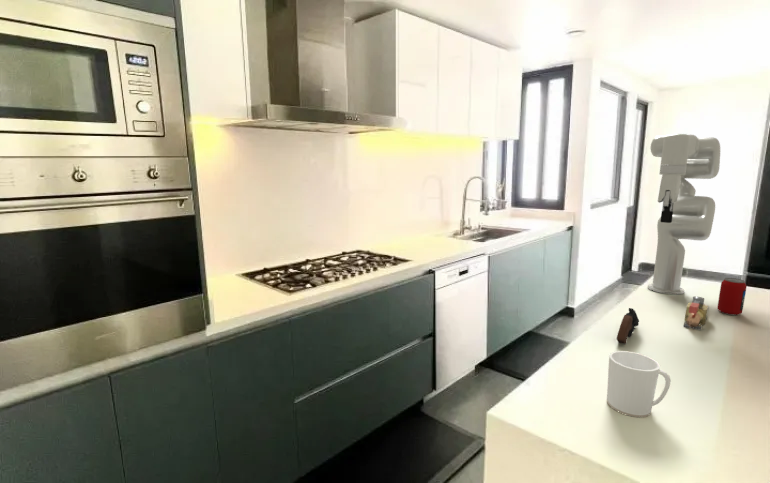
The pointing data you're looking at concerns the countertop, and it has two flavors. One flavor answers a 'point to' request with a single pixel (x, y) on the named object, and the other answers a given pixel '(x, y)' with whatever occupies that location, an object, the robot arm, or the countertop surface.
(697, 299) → the lever
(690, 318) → the pipework
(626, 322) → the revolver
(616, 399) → the mug
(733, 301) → the beverage can
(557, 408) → the countertop surface
